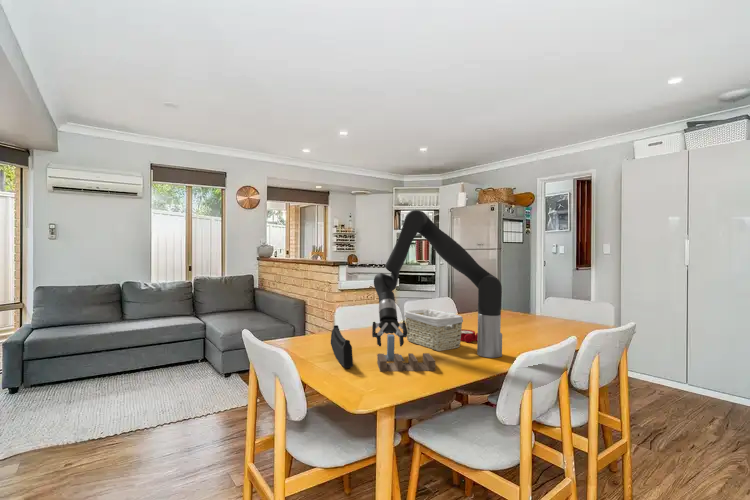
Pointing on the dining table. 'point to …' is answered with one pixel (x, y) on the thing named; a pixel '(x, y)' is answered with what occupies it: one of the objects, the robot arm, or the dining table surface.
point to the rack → (412, 363)
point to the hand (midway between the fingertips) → (390, 345)
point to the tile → (390, 346)
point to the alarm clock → (468, 335)
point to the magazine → (341, 348)
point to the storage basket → (434, 329)
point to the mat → (393, 359)
